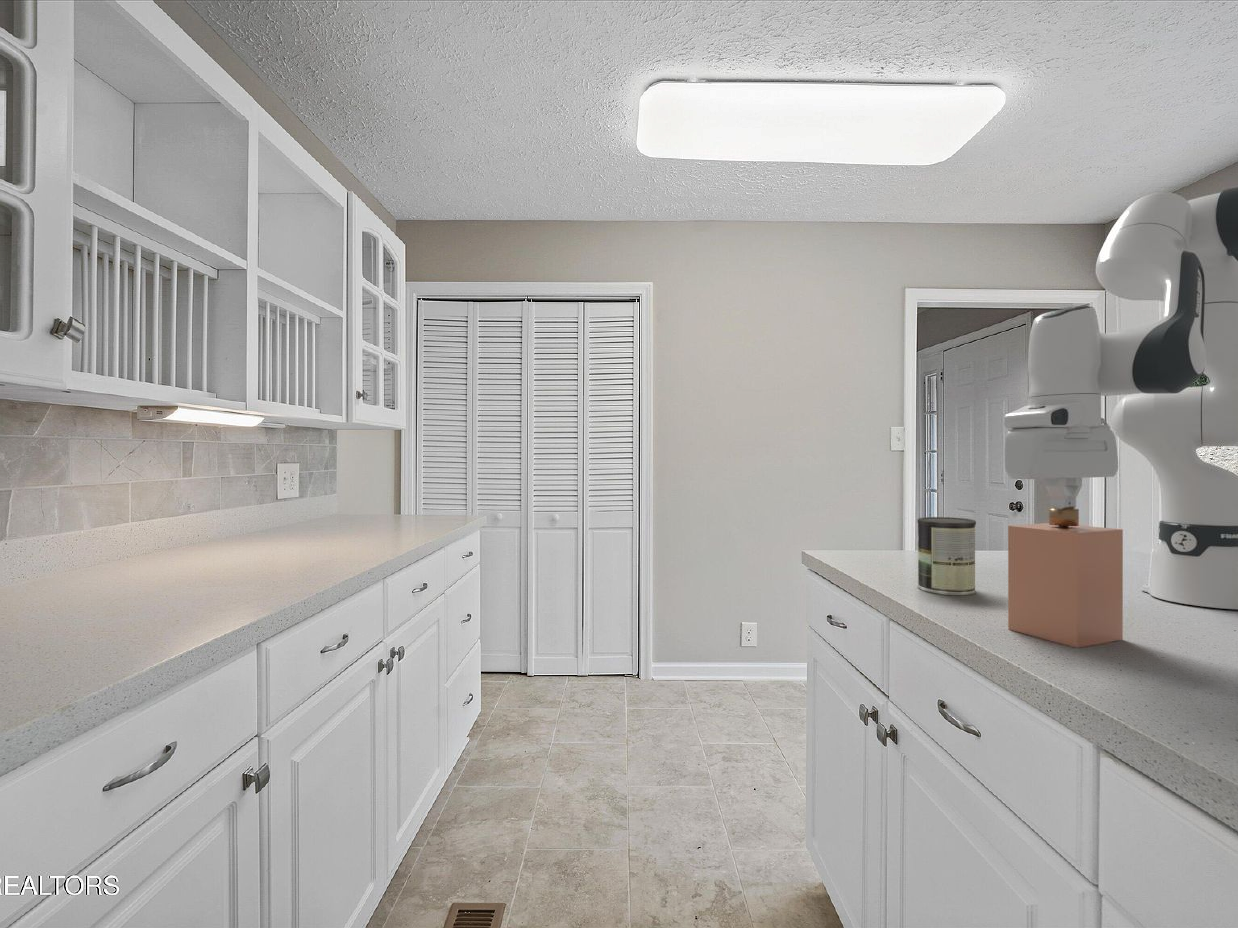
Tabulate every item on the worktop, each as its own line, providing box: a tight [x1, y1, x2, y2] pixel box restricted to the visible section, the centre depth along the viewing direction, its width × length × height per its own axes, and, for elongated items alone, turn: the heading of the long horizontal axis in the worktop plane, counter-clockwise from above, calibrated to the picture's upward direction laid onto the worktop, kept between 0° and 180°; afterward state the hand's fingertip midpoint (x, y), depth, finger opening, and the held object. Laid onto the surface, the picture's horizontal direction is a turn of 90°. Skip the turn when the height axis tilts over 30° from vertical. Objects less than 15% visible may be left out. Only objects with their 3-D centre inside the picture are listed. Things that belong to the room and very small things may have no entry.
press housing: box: [1007, 522, 1124, 649], centre depth 91 cm, size 10×10×16 cm
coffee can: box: [916, 516, 977, 596], centre depth 122 cm, size 10×10×14 cm
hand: (1063, 508), depth 91 cm, fingers closed, pressing on plunger
